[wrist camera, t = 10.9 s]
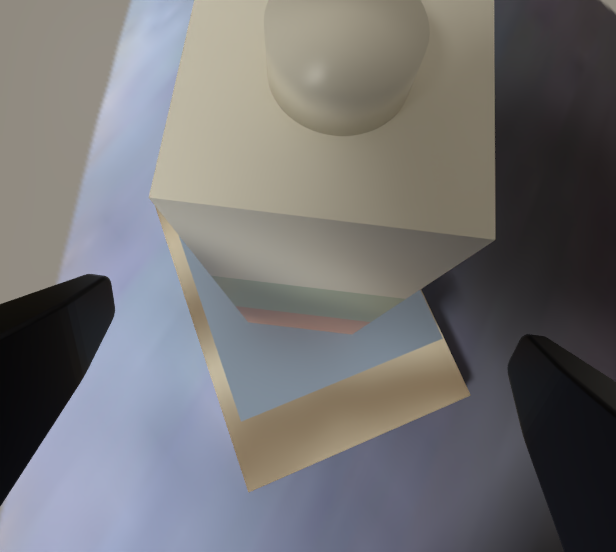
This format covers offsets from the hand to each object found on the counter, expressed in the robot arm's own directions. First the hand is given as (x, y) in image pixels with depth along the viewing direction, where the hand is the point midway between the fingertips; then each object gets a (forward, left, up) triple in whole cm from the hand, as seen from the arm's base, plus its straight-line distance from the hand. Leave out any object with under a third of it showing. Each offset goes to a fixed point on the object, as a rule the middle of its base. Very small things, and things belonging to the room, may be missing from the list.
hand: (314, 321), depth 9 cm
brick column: (+3, -1, -8) cm, 9 cm away
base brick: (+3, -1, -10) cm, 11 cm away
